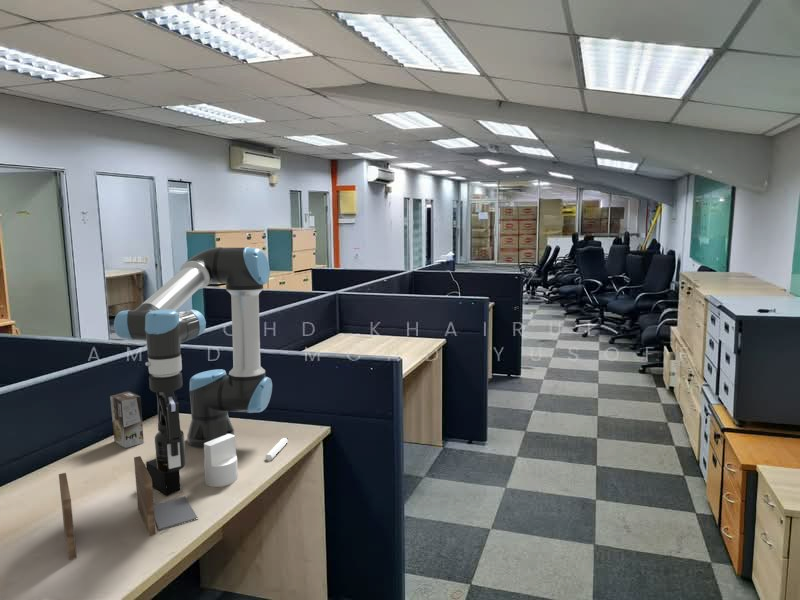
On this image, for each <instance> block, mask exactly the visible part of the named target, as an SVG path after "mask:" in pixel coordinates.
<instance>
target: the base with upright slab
mask: <svg viewBox="0 0 800 600" xmlns="http://www.w3.org/2000/svg"><path fill="white" fill-rule="evenodd" d="M236 445H237V444H236V435H235V434H234V435H233V434H226V435H224V436H221V437H219V438H216V439H214V440H211V441H208V442H206V443H204V448H203V453H204V465H203V466H204V477H205V478H204V480H205V484H206V485H208V487H209V486H211V487H217V488H219V487H225V486H226V487H227V486H228V485H232V484H233V483H236V482H237V481H238V479H239V470H238V469H239V467H238V466H239V465H238V456H237V447H236Z"/></svg>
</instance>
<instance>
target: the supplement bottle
mask: <svg viewBox="0 0 800 600" xmlns="http://www.w3.org/2000/svg"><path fill="white" fill-rule="evenodd" d="M157 430H158V432H157V433H156V434H155V436H154V446H155V447H154V448H155V449H154V450H155V459H156V461H157V469H158V470H159V471H161V472H174V471H178V470H179V471H180V470H182V469H183V468H184V467H186V466H187V465H186V464H187V458H186V446H185V445H186V444H185V434H184V431H183V430H181V429H180V431H181V439H182V440H181V442H179V445H180V461H181V466H180V467H175V468H171V469H169V466H168V451H167V445H165V442H168V437H167V429H166V422H165V420H162V421H160V422H159V423H157Z"/></svg>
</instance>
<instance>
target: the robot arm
mask: <svg viewBox="0 0 800 600" xmlns="http://www.w3.org/2000/svg"><path fill="white" fill-rule="evenodd" d="M179 269H180V270H179V272H177V274H175V275H174V276H173V277H171V278H170V280H167V282H166V283H165V284H163V285H162V286H161V287H160V288H159V289H157V290H156V291H155V292H154V293H153V294H152V295H151V296H149V297H148V298H147V299H146V300H144V301H143V303H141V304H140V305H139V306H138V307H135V309H133V310H131V309H127V310H122V311H119V312H118V313H117V314H116V315H115V317H114V321H113V328H114V332H115V334H116V335H117V336H118V337H119V338H121V339H127V340H146V349H147V361H145V363H144V364H145V366H146V367H148V373H149V376H148V382H149V383H148V384H149V389H150V391H151V392H153V393H156V400H157V401H156V402H157V403H156V404H157V421H158V423H159V422H160V421H162V420H165V422H166V429H167V437H168V442H165V445H167V451H168V466H169V469H171V468H175V467H180V466H181V461H180V445H179V442H181V440H182V439H181V431H180V430H181V423H180V422H181V421H180V411H179V410H180V408H179V407H180V403H179V402H178V396H177V395H176V394H175V391H177V390H179V389H181V388H182V387H183V385H184V384H183V373H182V372H181V371H182V370H183V363H182V354H181V353H182V352H181V344H182V343H185V342H187V341H191V340H194V339H196V338H198V337H199V336H200V335H202V334H203V333H204V332H205V330H206V327H207V325H206V324H207V321H206V319H205V317H204V315H203V313H202V312H200V311H198V310H196V309H184V310H183V311H177V310H178V309H180V307H181V306H182V305H184V303H186V302H187V300H188V299H190V298H191V297H192V296H193V295H194V294H195V293H196V292H197V291H198V290H201V289H204V288H206V287H207V286H208V285H211V284H212V285H214V284H225V291H226V292H228V293H229V294H230V297H231V300H230V301H231V327H232V328H231V331H232V336H231V337H232V360H233V361H232V362H233V363H232V364H233V365H232V366H233V367H232V368H231V370H229V372H228V373H227V372H226V370H225V369H217V368H216V369H210V370H206V371H202V372H199V373H196V374H194V375H193V376H191V378H190V379H189V389H188V390H189V399H190V411H191V414H190V415H191V420H190V424H189V427H188V431H187V435H186V438H187V444H188V445H189V446H191V447H194V448H198V449H199V448H203V449H204V443H206V442H208V441H211V440H214V439H216V438H219V437H221V436H224V435H226V434H233V435H235V429H234V426H233V423H232V421H231V419H230V417H229V412H234V413H236V412H237V413H249V414H253V413H261V412H263V411H264V410H266V408H267V407H268V405H269V403H270V400H271V396H272V392H273V382H272V379H271V378H270V377H268V376H266V369H264V368H263V367H262V366H261V339H260V338H261V337H260V334H261V333H260V332H261V331H260V298H259V296H260V293H261V292H262V291H263V290H264V285H266V284H268V282H269V279H270V275H271V271H270V270H271V269H270V264H269V261H268V257H267V255H266V254H265V252H264V251H263V250H262V249H260V248H258V247H248V246H247V247H246V246H245V247H220V246H219V247H212V248H208V249H205V250H203V251H201V252H198V253H197V254H195V255H194V256H192V257H191V258H189V259H188V260H186V261H185V262H184V263H183V264H182V265H181V266H180V268H179ZM227 374H228V375H227ZM158 423H157V424H158Z"/></svg>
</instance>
